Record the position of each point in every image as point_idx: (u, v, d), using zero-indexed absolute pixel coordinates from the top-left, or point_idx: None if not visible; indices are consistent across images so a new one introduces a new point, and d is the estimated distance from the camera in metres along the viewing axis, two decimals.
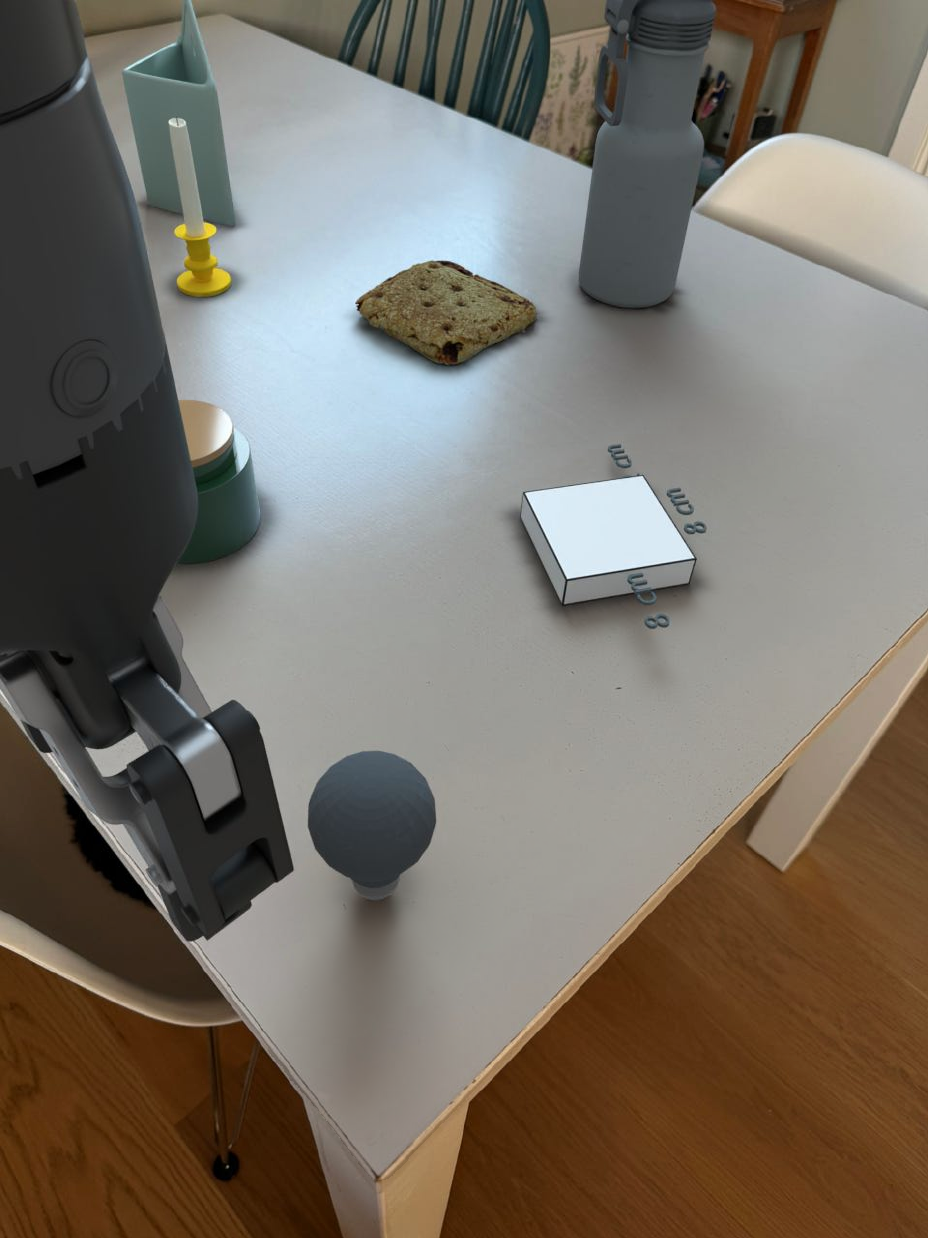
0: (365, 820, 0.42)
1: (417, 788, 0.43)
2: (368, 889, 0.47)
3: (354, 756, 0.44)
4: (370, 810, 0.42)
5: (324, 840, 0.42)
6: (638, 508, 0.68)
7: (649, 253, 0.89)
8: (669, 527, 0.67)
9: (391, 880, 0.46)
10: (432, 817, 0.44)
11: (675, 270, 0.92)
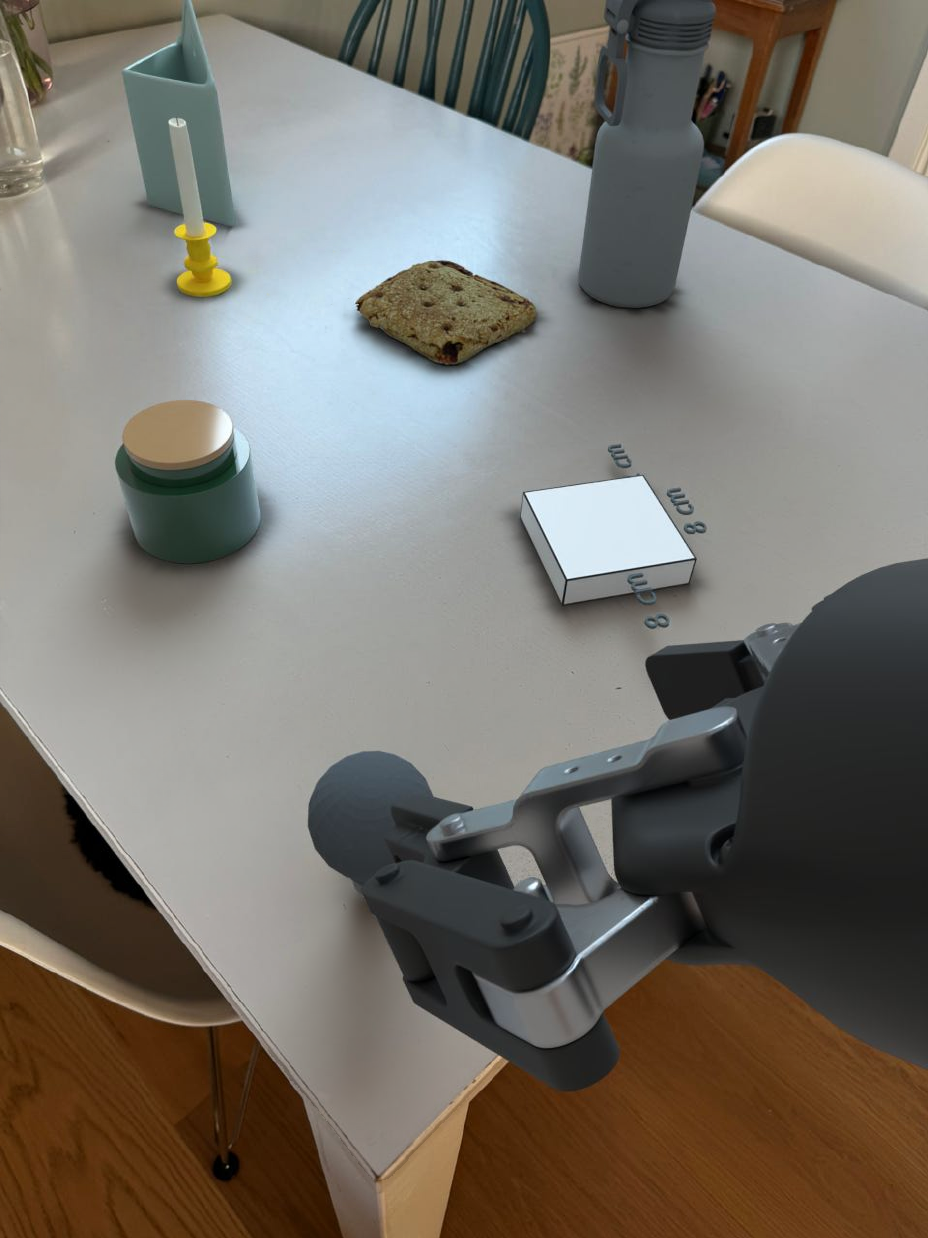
0: (365, 820, 0.42)
1: (417, 788, 0.43)
2: None
3: (354, 756, 0.44)
4: (370, 810, 0.42)
5: (325, 841, 0.42)
6: (638, 508, 0.68)
7: (649, 253, 0.89)
8: (669, 527, 0.67)
9: None
10: None
11: (675, 270, 0.92)
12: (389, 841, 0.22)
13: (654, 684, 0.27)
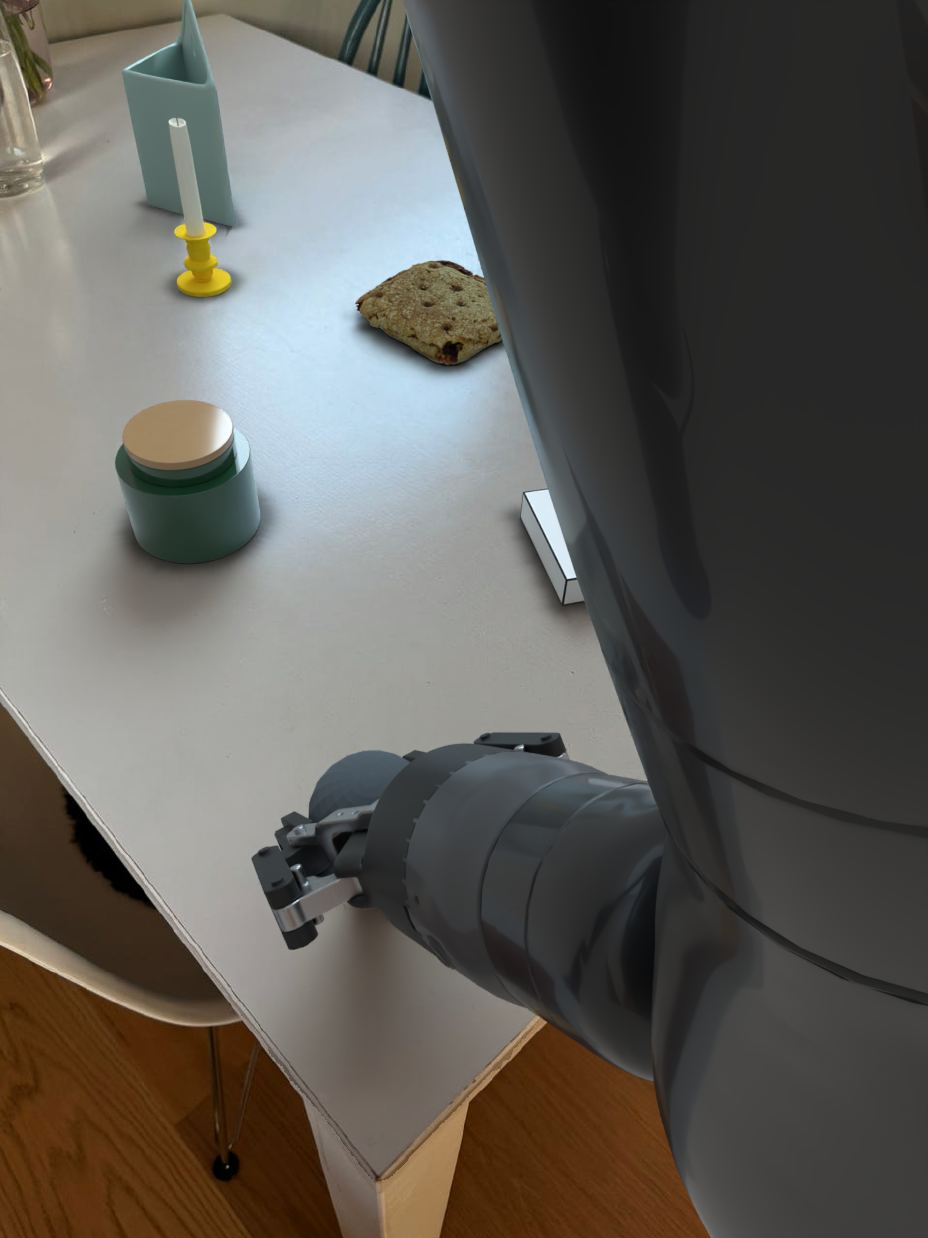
0: None
1: None
2: None
3: (354, 755, 0.44)
4: None
5: None
6: None
7: None
8: None
9: None
10: None
11: None
12: (276, 836, 0.43)
13: None
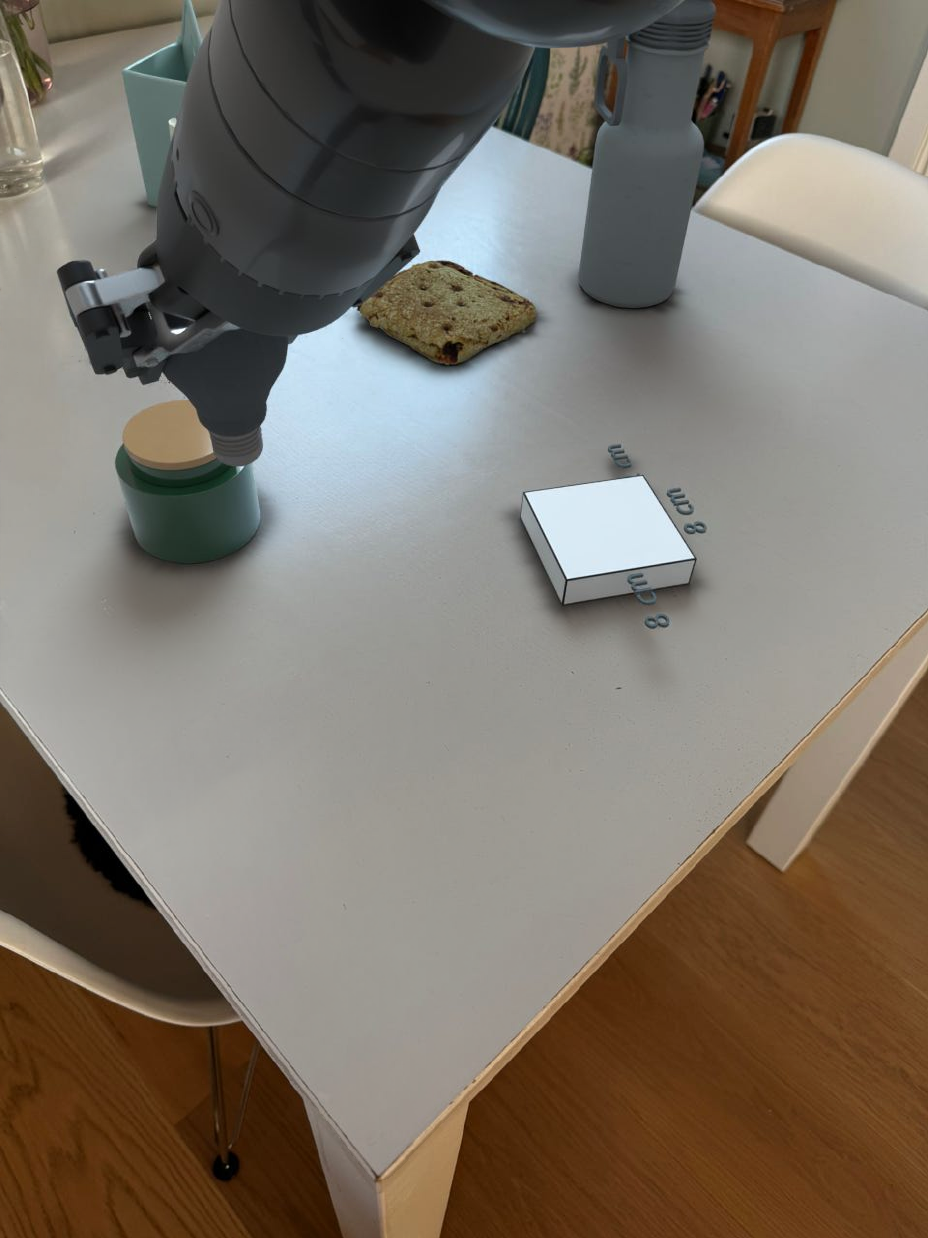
0: None
1: None
2: (225, 445, 0.45)
3: None
4: None
5: None
6: (638, 508, 0.68)
7: (649, 253, 0.89)
8: (669, 527, 0.67)
9: (246, 424, 0.44)
10: None
11: (675, 270, 0.92)
12: None
13: None
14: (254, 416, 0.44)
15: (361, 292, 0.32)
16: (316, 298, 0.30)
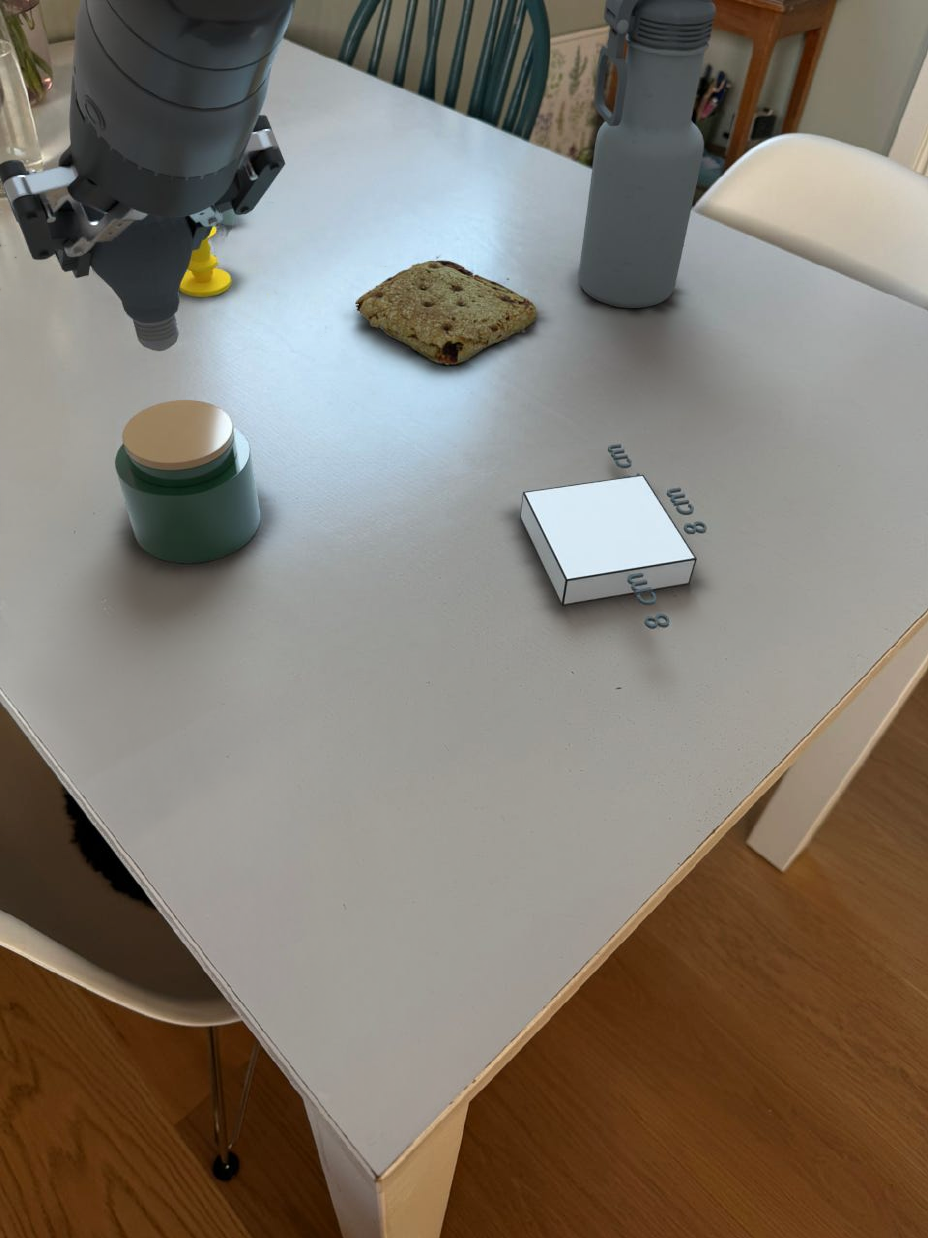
0: None
1: None
2: (146, 330, 0.56)
3: None
4: None
5: None
6: (638, 508, 0.68)
7: (649, 253, 0.89)
8: (669, 527, 0.67)
9: (160, 312, 0.55)
10: (183, 231, 0.53)
11: (675, 270, 0.92)
12: None
13: None
14: (167, 305, 0.55)
15: (222, 180, 0.43)
16: (183, 179, 0.41)
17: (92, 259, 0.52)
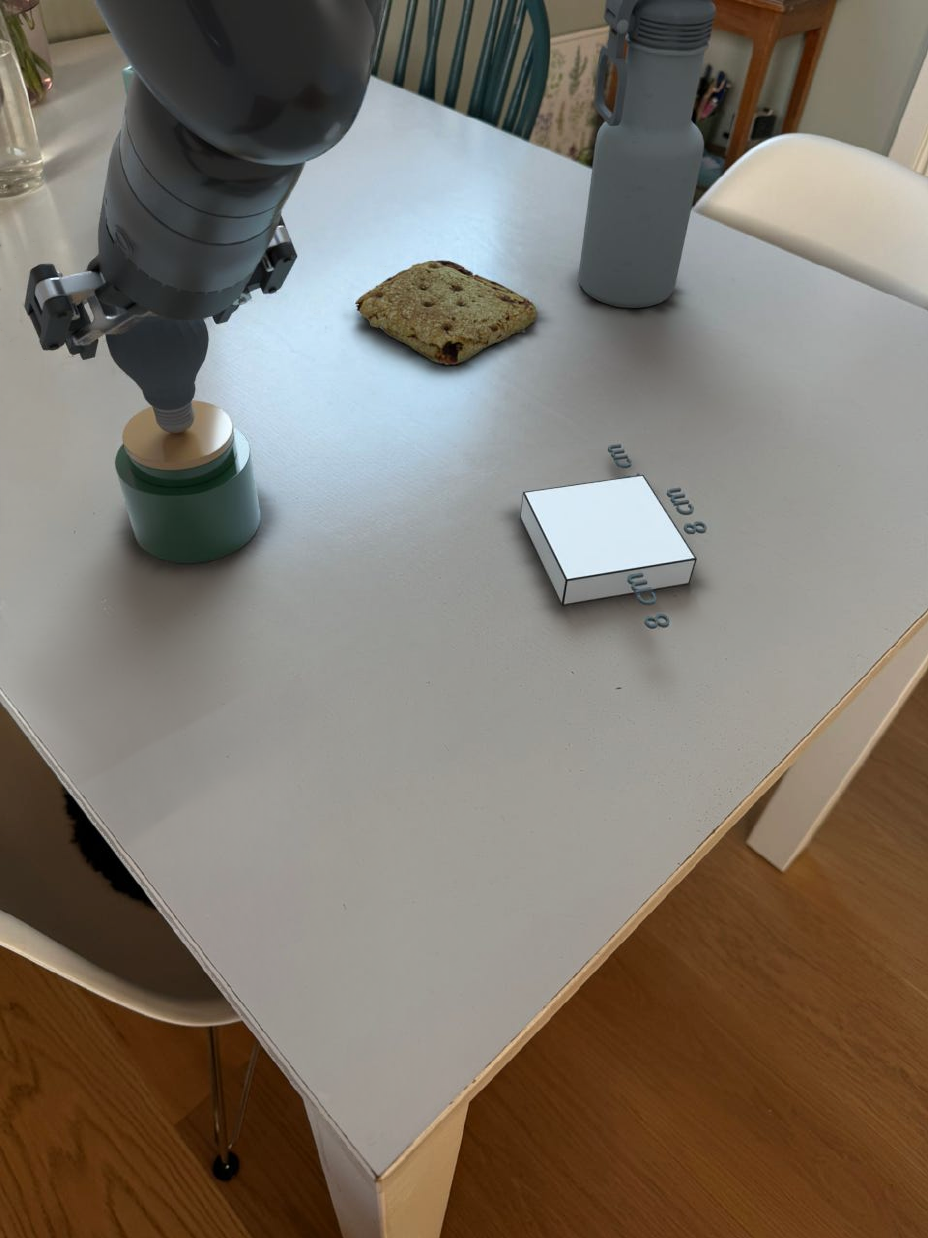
0: None
1: None
2: (164, 416, 0.61)
3: None
4: None
5: (113, 336, 0.56)
6: (638, 508, 0.68)
7: (649, 253, 0.89)
8: (669, 527, 0.67)
9: (178, 401, 0.60)
10: (200, 330, 0.57)
11: (675, 270, 0.92)
12: None
13: None
14: (185, 394, 0.60)
15: (237, 290, 0.47)
16: (203, 294, 0.45)
17: (116, 357, 0.57)
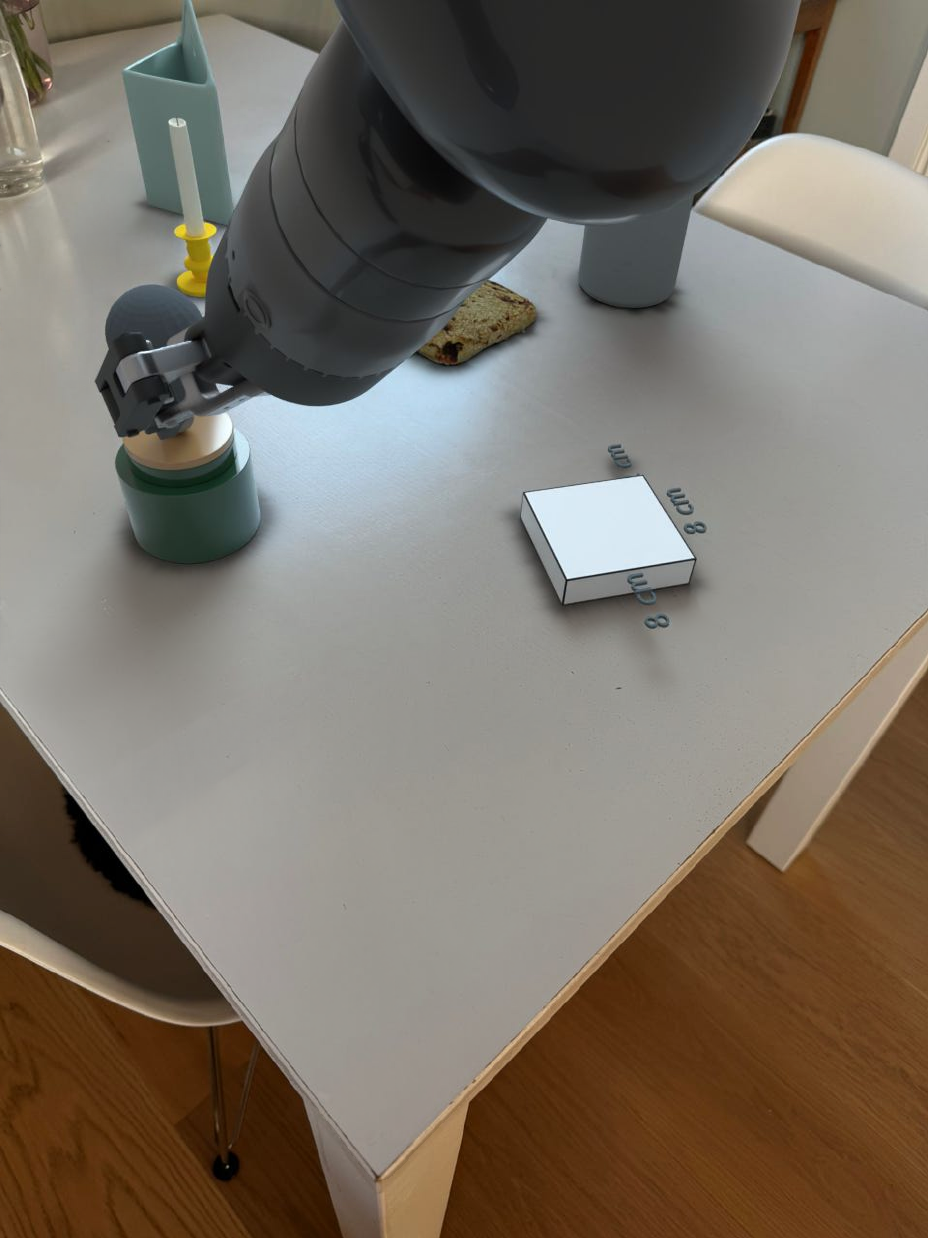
0: (141, 314, 0.55)
1: (187, 304, 0.57)
2: None
3: None
4: (145, 307, 0.55)
5: (113, 336, 0.56)
6: (638, 508, 0.68)
7: (649, 253, 0.89)
8: (669, 527, 0.67)
9: None
10: None
11: (675, 270, 0.92)
12: None
13: None
14: None
15: None
16: (356, 378, 0.33)
17: None
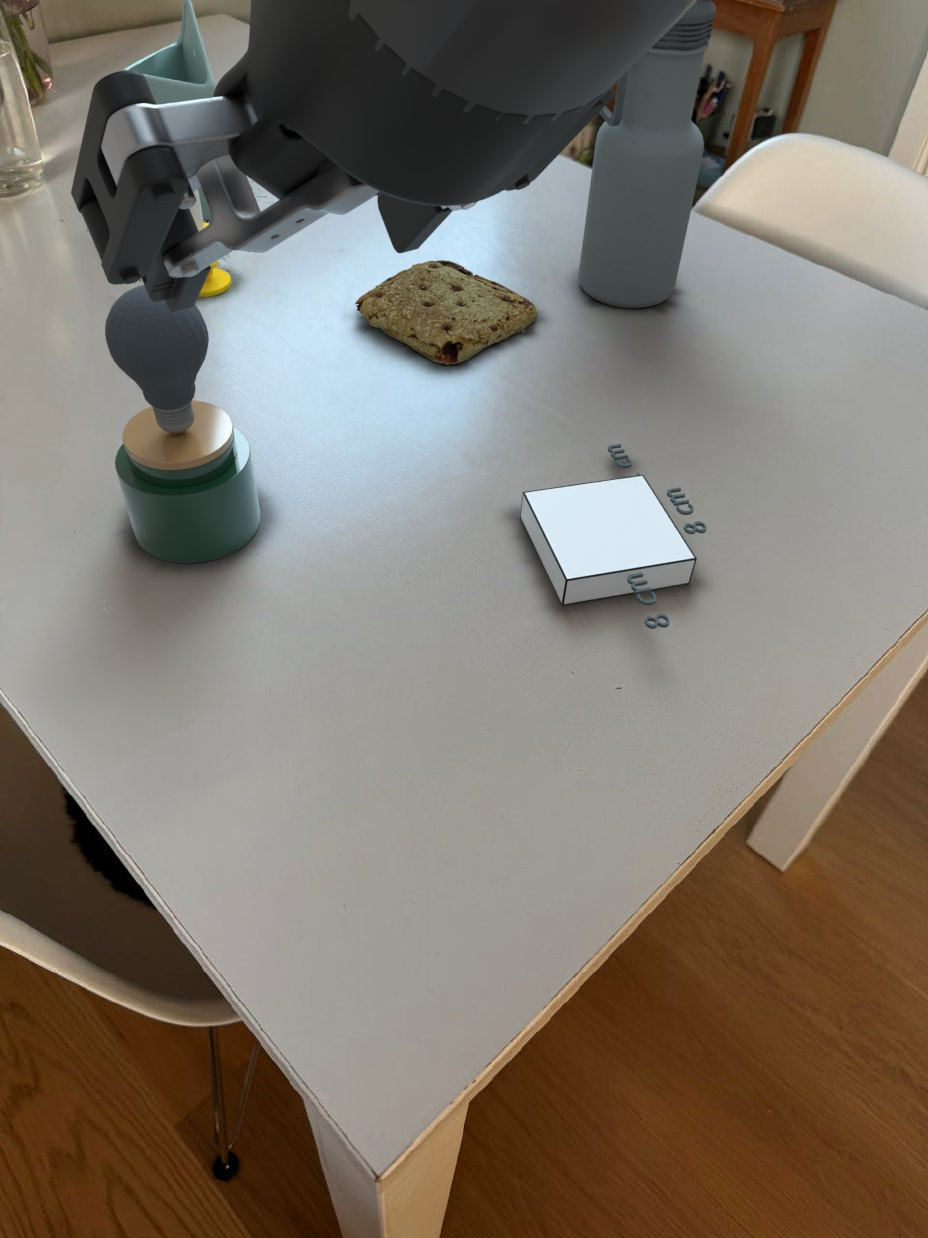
0: (141, 314, 0.55)
1: None
2: (164, 416, 0.61)
3: None
4: (145, 307, 0.55)
5: (113, 336, 0.56)
6: (638, 508, 0.68)
7: (649, 253, 0.89)
8: (669, 527, 0.67)
9: (178, 401, 0.60)
10: (200, 330, 0.57)
11: (675, 270, 0.92)
12: None
13: (384, 220, 0.34)
14: (185, 394, 0.60)
15: (569, 128, 0.20)
16: (519, 122, 0.18)
17: (116, 357, 0.57)
